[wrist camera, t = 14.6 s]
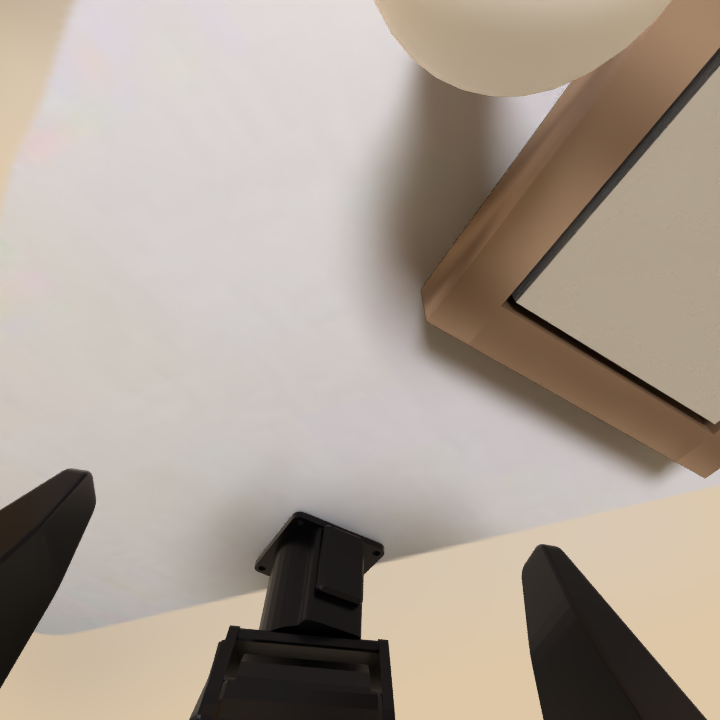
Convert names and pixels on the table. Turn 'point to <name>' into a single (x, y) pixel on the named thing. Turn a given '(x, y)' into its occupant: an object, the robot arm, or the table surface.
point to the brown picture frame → (552, 217)
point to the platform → (649, 257)
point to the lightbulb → (515, 39)
